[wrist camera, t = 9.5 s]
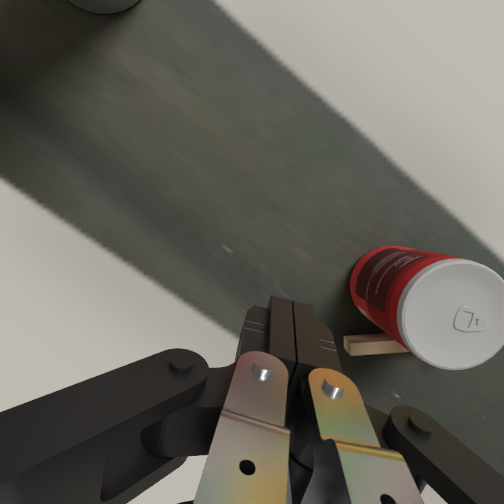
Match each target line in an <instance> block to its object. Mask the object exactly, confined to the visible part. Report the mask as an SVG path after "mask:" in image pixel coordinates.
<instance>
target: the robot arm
mask: <svg viewBox="0 0 504 504" xmlns="http://www.w3.org/2000/svg"><path fill="white" fill-rule="evenodd" d="M68 1H70V2H71V3H73V4H74V5H75V6H77V7H79V8H81V9H84V10H86V11H89V12H94V13H98V14H112V13H116V12H120V11H123V10H125V9H127V8H129V7H131V6H133V5H134V4H135V3H137V2H138V1H139V0H68ZM334 342H335V341H334V337H333V333H332V332H331V330H330V329H329V328H328V327H327V325H326V324H325V323H323V322H319V321H316V320H315V314H314V309H313V306H311V305H307V304H303V303H299V302H295V301H291V300H287V299H283V298H279V297H275V296H271V298H270V300H269V304H268V307H267V308H264V307H260V306H256V305H254V306H253V307H252V308H250V309H249V310H248V311H247V314H246V318H245V321H244V325H243V329H242V332H241V336H240V340H239V343H238V347H237V353H236V358H235V362H234V363H233V364H231V365H229V366H226V367H221V368H209V367H208V364H207V362H206V361H205V359H204V358H203V357H202V356H200V355H199V354H197V353H195V352H193V351H190V350H187V349H179V348H177V349H169V350H165V351H162V352H160V353H157V354H154V355H152V356H149V357H147V358H144V359H141V360H138V361H136V362H133V363H130V364H128V365H125V366H122V367H120V368H117V369H114V370H112V371H109V372H106V373H104V374H101V375H98V376H96V377H93V378H90V379H88V380H85V381H82V382H80V383H77V384H74V385H72V386H69V387H66V388H64V389H61V390H59V391H56V392H53V393H51V394H48V395H45V396H42V397H40V398H37V399H34V400H32V401H29V402H26V403H24V404H21V405H18V406H16V407H13V408H11V409H8V410H5V411H2V412H0V504H126V503H128V502H129V501H131V500H132V499H134V498H135V497H137V496H138V495H139V494H141V493H142V492H144V491H145V490H147V489H148V488H149V487H151V486H153V485H154V484H155V483H157V482H158V481H160V480H161V479H163V478H164V477H165V476H167V475H168V474H170V473H171V472H173V471H174V470H176V469H177V468H179V467H180V466H181V465H182V464H183V463H184V462H185V461H186V459H187V457H188V456H199V455H208V457H207V460H206V463H205V467H204V470H203V473H202V476H201V480H200V483H199V486H198V490H197V493H196V496H195V499H194V500H192V501H187V502H181V503H179V504H424V502H423V500H422V498H421V493H422V491H423V489H424V487H425V486H426V484H428V485H429V486H430V487H431V488H433V489H434V490H435V491H436V492H437V493H438V494H439V495H440V496H441V497H442V498H443V499H444V500H445V501H446V502H447V503H448V504H504V477H503V476H502V475H500V474H499V473H498V472H497V471H496V470H494V469H493V468H492V467H491V466H490V465H488V464H487V463H486V462H485V461H484V460H482V459H481V458H480V457H479V456H477V455H476V454H475V453H474V452H473V451H471V450H470V449H469V448H468V447H467V446H465V445H464V444H463V443H462V442H461V441H459V440H458V439H457V438H456V437H455V436H453V435H452V434H451V433H450V432H449V431H447V430H446V429H445V428H444V427H442V426H441V425H440V424H439V423H438V422H436V421H435V420H434V419H433V418H431V417H430V416H429V415H427V414H426V413H424V412H422V411H420V410H418V409H416V408H413V407H410V406H405V405H399V406H396V407H394V408H393V409H392V411H391V413H390V415H387V414H385V413H383V412H381V411H378V410H376V409H374V408H372V407H370V406H368V405H367V404H365V403H363V401H362V398H361V396H360V393H359V391H358V389H357V387H356V385H355V384H354V383H353V382H352V381H351V380H350V379H349V378H348V377H346V376H345V375H343V372H342V369H341V365H340V361H339V357H338V353H337V351H336V350H337V349H336V345H335V344H334Z"/></svg>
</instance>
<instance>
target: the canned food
mask: <svg viewBox="0 0 504 504" xmlns="http://www.w3.org/2000/svg"><path fill="white" fill-rule="evenodd" d="M350 291H351V296H352V299H353V301H354V304H355V306H356V307H357V308H358V310H359V311H360V312H361V313H362V314H363V315H364V316H365V317H367V318H368V319H369V320H370V321H372V322H373V323H374V324H375V325H377V326H378V327H379V328H381V329H382V330H383V331H384V332H386V333H387V334H388V335H389V336H391V337H392V338H393V339H394V340H396V341H397V342H398V343H399V344H401V345H402V346H403V347H404V348H406V349H407V350H408V351H410V352H411V353H413V354H414V355H415V356H416V357H418V358H420V359H421V360H423V361H425V362H427V363H428V364H430V365H432V366H435V367H438V368H441V369H448V370H463V369H467V368H471V367H475V366H477V365H479V364H481V363H484V362H485V361H487V360H488V359H490V358H491V357H493V356H494V355H495V354H496V353H497V352H498V351H499V350H500V349H501V347H502V346H503V345H504V280H503V279H502V278H501V277H500V276H499V275H498V274H497V273H496V272H494V271H493V270H491V269H490V268H488V267H487V266H484V265H481V264H479V263H476V262H474V261H471V260H466V259H462V258H458V257H453V256H448V255H443V254H438V253H433V252H428V251H422V250H417V249H412V248H407V247H402V246H396V245H388V246H383V247H379V248H376V249H374V250H372V251H370V252H368V253H367V254H365V255H364V256H363V257H362V258H361V259H360V260H359V261H358V262H357V264H356V265H355V267H354V269H353V271H352V273H351V278H350Z"/></svg>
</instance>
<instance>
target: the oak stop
mask: <svg viewBox="0 0 504 504" xmlns="http://www.w3.org/2000/svg"><path fill="white" fill-rule="evenodd" d="M344 348H345V350H346V351H347V352H348V353H349V354H350V356H357V355H371V354H385V353H400V352H410V351H408V350H407V349H406V348H404V347H403V346H402V345H401V344H399V343H398V342H397V341H396V340H394V339H393V338H392V337H391V336H389V335H388V334H387V333H381V334H366V335H351V336H344Z"/></svg>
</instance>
